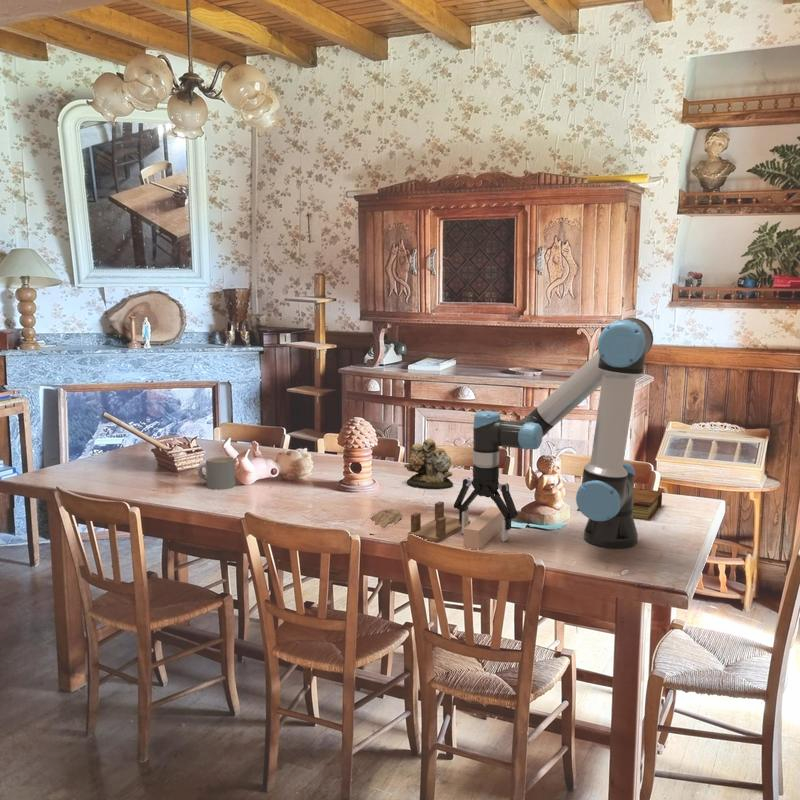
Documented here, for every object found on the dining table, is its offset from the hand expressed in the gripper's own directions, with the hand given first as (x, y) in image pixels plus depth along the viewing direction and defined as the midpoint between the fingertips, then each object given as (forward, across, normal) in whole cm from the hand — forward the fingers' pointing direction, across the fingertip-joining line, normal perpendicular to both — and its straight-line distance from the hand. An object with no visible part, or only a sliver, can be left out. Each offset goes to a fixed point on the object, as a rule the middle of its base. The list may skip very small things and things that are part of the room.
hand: (484, 536), depth 245 cm
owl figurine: (0, +44, -42) cm, 61 cm away
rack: (0, +14, +2) cm, 14 cm away
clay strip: (0, 0, 0) cm, 0 cm away
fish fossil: (+1, +34, +5) cm, 34 cm away
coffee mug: (+1, +108, 0) cm, 108 cm away
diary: (+1, -24, -50) cm, 56 cm away
